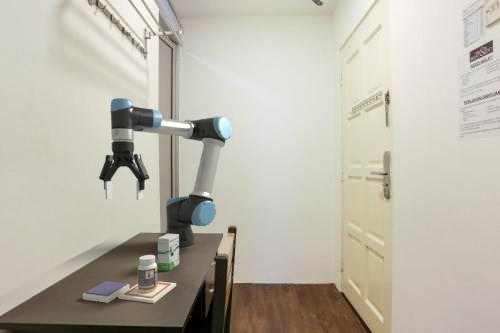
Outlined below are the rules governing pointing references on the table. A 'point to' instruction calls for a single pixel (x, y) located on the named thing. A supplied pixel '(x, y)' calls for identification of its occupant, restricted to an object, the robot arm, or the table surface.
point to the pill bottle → (147, 274)
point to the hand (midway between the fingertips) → (124, 199)
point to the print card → (149, 296)
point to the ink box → (168, 251)
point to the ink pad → (105, 291)
